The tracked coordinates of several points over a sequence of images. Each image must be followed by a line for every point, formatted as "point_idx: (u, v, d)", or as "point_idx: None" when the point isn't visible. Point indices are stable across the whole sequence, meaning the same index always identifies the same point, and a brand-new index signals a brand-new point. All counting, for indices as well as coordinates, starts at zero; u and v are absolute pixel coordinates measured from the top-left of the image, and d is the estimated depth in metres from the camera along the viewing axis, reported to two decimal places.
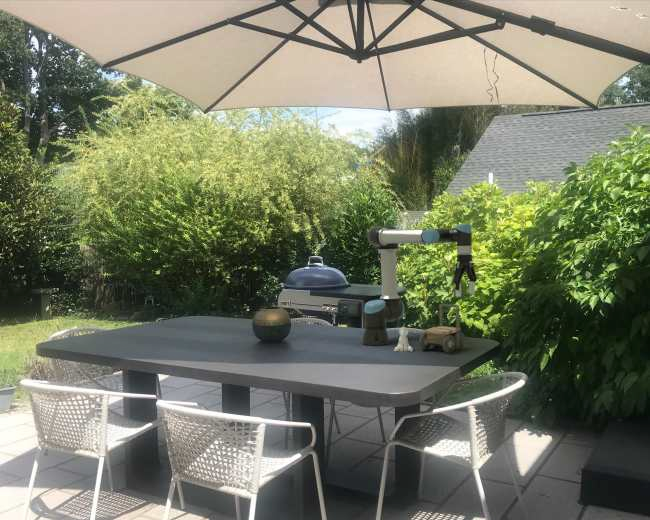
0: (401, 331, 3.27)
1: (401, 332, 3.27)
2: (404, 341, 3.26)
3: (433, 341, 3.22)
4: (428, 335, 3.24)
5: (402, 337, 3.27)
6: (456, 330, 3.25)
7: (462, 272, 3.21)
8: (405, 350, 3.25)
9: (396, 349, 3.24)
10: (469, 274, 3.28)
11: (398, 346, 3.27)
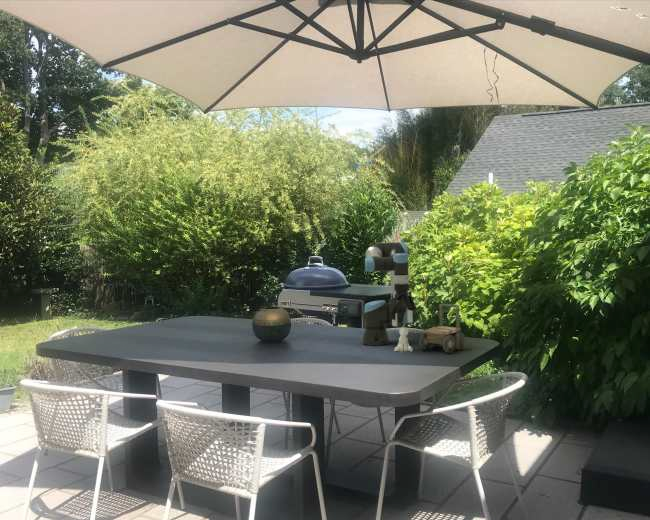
0: (401, 331, 3.27)
1: (401, 332, 3.27)
2: (404, 341, 3.26)
3: (433, 341, 3.22)
4: (428, 335, 3.24)
5: (402, 337, 3.27)
6: (456, 330, 3.25)
7: (398, 301, 3.23)
8: (405, 350, 3.25)
9: (396, 349, 3.24)
10: (407, 303, 3.30)
11: (398, 346, 3.27)
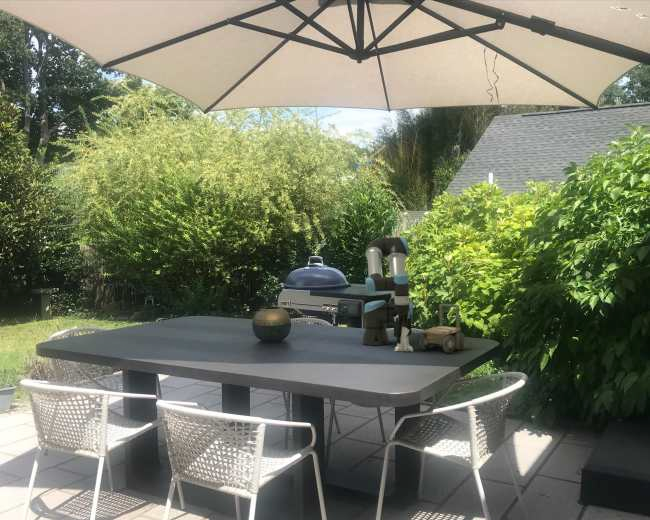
0: None
1: None
2: (404, 341, 3.26)
3: (433, 341, 3.22)
4: (428, 335, 3.24)
5: (402, 337, 3.27)
6: (456, 330, 3.25)
7: (401, 324, 3.24)
8: (405, 350, 3.25)
9: (396, 349, 3.24)
10: (405, 326, 3.29)
11: None
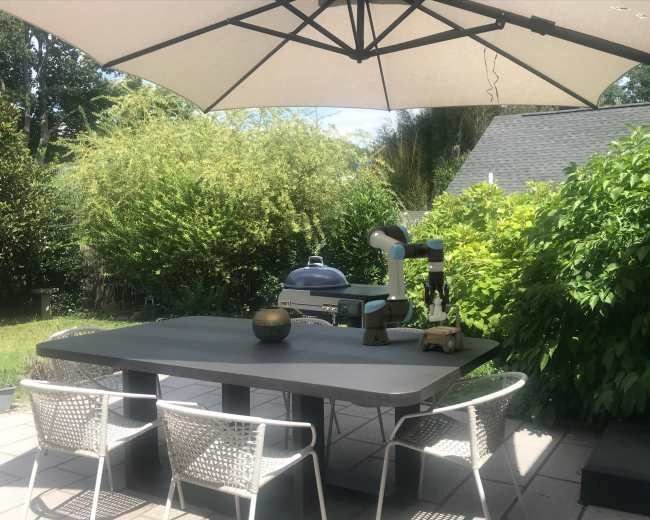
0: None
1: None
2: (434, 310, 3.08)
3: (433, 341, 3.22)
4: (428, 335, 3.24)
5: (435, 305, 3.09)
6: (456, 330, 3.25)
7: (430, 291, 3.10)
8: None
9: (429, 316, 3.13)
10: None
11: None
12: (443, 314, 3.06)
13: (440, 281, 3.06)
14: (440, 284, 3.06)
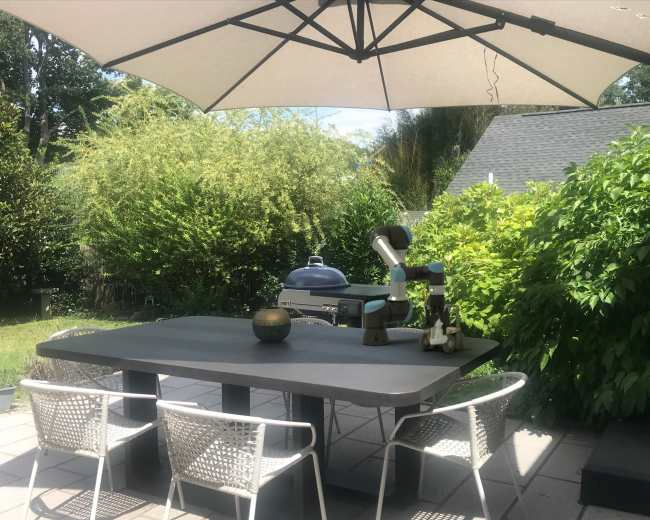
0: None
1: None
2: (435, 333, 3.09)
3: None
4: (428, 335, 3.24)
5: None
6: (456, 330, 3.25)
7: (431, 314, 3.10)
8: None
9: None
10: None
11: None
12: (444, 337, 3.07)
13: (441, 304, 3.06)
14: (441, 307, 3.06)
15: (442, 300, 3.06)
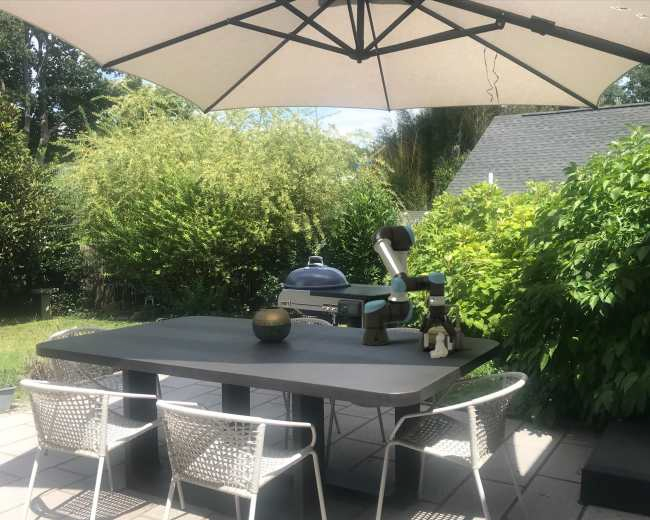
0: None
1: None
2: (435, 346, 3.09)
3: (433, 341, 3.22)
4: None
5: (436, 342, 3.10)
6: (456, 330, 3.25)
7: None
8: None
9: (430, 352, 3.14)
10: None
11: (435, 350, 3.13)
12: (444, 351, 3.07)
13: (441, 315, 3.06)
14: (441, 318, 3.07)
15: (442, 311, 3.06)
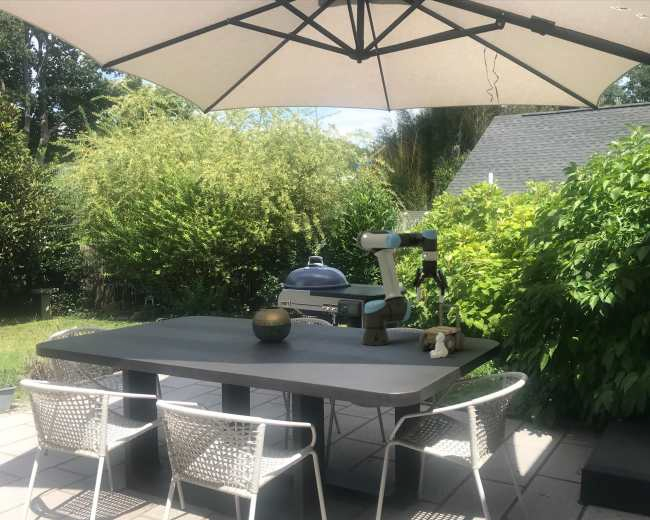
0: None
1: None
2: (435, 346, 3.09)
3: (433, 341, 3.22)
4: (428, 335, 3.24)
5: (436, 342, 3.10)
6: (456, 330, 3.25)
7: (421, 277, 3.25)
8: None
9: (430, 352, 3.14)
10: None
11: (435, 350, 3.13)
12: (444, 351, 3.07)
13: (433, 270, 3.20)
14: (433, 272, 3.20)
15: (434, 266, 3.19)
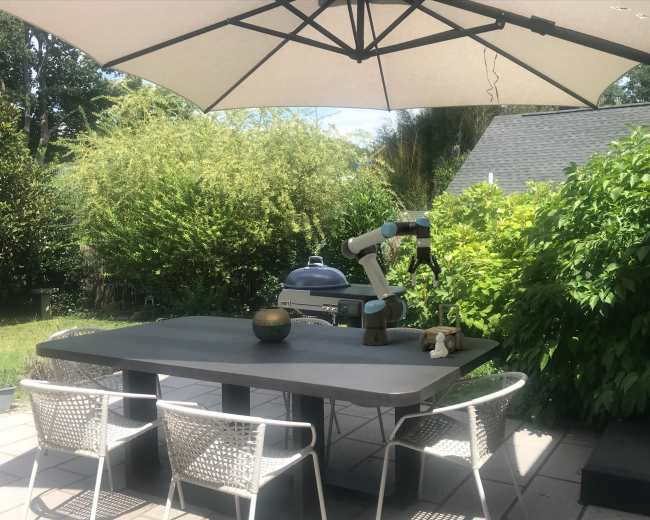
0: None
1: None
2: (435, 346, 3.09)
3: (433, 341, 3.22)
4: (428, 335, 3.24)
5: (436, 342, 3.10)
6: (456, 330, 3.25)
7: None
8: None
9: (430, 352, 3.14)
10: None
11: (435, 350, 3.13)
12: (444, 351, 3.07)
13: (427, 256, 3.35)
14: (427, 258, 3.35)
15: (428, 252, 3.34)
